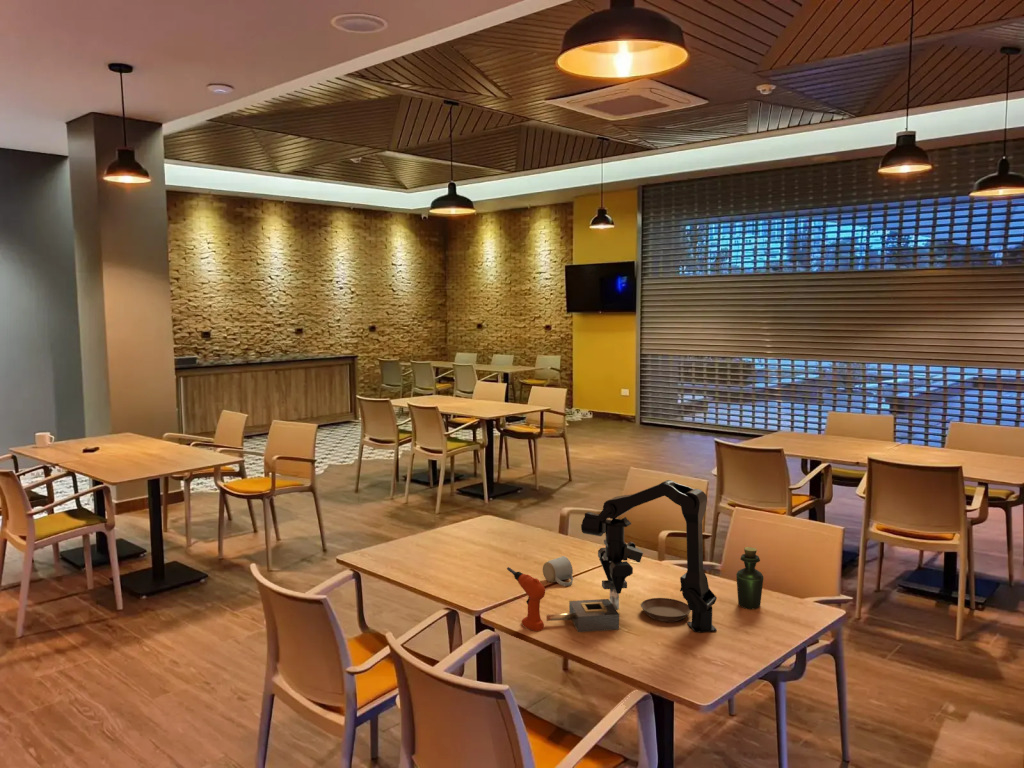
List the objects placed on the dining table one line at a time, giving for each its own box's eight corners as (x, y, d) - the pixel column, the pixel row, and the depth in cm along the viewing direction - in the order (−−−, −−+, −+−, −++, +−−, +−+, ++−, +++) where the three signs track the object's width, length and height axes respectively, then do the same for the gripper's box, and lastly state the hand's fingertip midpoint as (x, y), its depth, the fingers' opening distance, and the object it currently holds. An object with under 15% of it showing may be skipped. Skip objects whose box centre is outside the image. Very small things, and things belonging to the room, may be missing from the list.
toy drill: (511, 603, 228) (515, 557, 225) (547, 631, 212) (551, 583, 210) (498, 606, 225) (501, 560, 222) (533, 635, 210) (537, 586, 207)
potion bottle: (753, 612, 223) (754, 554, 222) (730, 604, 229) (731, 548, 228) (768, 606, 228) (769, 549, 227) (745, 598, 235) (746, 543, 233)
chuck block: (619, 629, 211) (619, 613, 211) (550, 633, 209) (550, 617, 208) (608, 613, 223) (608, 598, 223) (543, 617, 220) (543, 601, 220)
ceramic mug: (540, 579, 253) (541, 557, 252) (559, 574, 258) (559, 553, 257) (560, 589, 244) (560, 566, 243) (579, 584, 249) (579, 562, 248)
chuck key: (626, 609, 226) (627, 582, 226) (604, 610, 225) (604, 583, 225) (624, 605, 229) (624, 579, 229) (601, 606, 228) (601, 580, 228)
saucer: (691, 608, 227) (691, 599, 227) (690, 627, 213) (690, 618, 213) (643, 603, 231) (643, 595, 231) (638, 622, 217) (638, 613, 217)
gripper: (649, 546, 217) (649, 597, 219) (631, 529, 236) (631, 576, 237) (613, 548, 216) (612, 599, 217) (597, 530, 234) (597, 578, 236)
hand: (614, 588), depth 227 cm, fingers open, 9 cm apart
